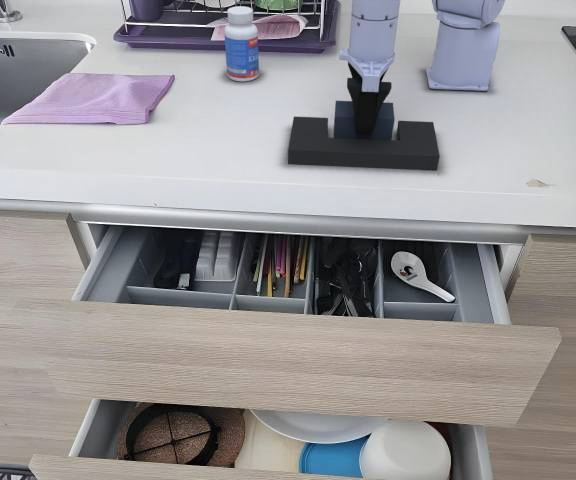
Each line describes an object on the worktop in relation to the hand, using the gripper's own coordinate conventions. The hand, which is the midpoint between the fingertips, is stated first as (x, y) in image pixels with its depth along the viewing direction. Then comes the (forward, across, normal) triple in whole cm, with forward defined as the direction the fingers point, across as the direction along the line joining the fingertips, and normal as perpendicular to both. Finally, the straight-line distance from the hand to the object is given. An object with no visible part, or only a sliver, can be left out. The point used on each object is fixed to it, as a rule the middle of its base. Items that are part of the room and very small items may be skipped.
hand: (363, 124), depth 81 cm
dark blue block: (+1, 0, 0) cm, 1 cm away
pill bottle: (+3, -22, -20) cm, 30 cm away
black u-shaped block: (+3, +2, 0) cm, 3 cm away
